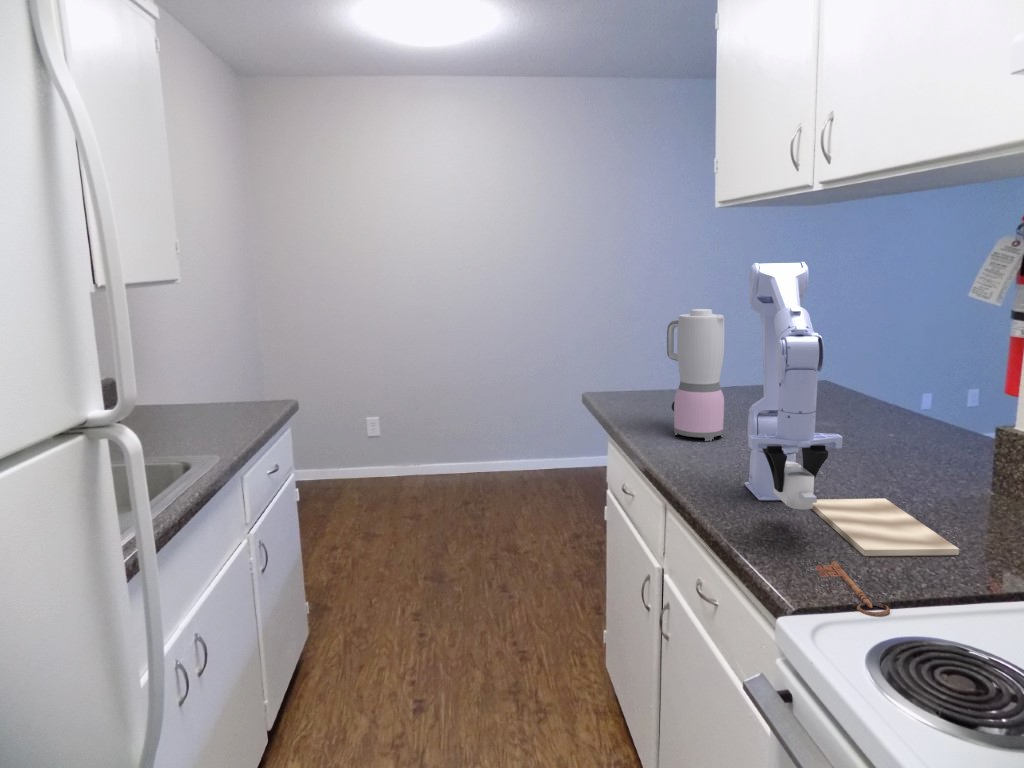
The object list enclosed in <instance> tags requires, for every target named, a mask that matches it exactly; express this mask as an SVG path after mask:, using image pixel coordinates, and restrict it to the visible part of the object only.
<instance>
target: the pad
mask: <svg viewBox="0 0 1024 768" xmlns="http://www.w3.org/2000/svg"><path fill="white" fill-rule="evenodd" d="M810 510H812V511H813V512H815V514H817V515H818V516H819V517H820V518H821V519H822V520H823V521H824V522H826V524H828V525H829V526H830V527H831V528H832V529H833V530H835V531H836V533H838V534H839V535H840V536H841V537H842V538H844V540H846V542H848V543H849V544H850V545H851V546H852V547H854V548H855V549H856V550H857V551H858V552H859V553H860V554H861V555H862V556H863V557H902V556H903V557H907V556H908V557H909V556H911V557H912V556H913V557H917V556H920V557H921V556H959V553H960V548H959V547H957V546H956V545H954V544H953V543H951V542H950V541H948V540H947V539H945V538H944V537H943V536H941V535H939V534H938V533H936V532H935V531H934V530H932V529H931V528H929V527H928V526H927V525H925V524H924V523H921V522H920V521H919V520H917V519H916V518H915V517H913V516H912V515H911V514H909V513H907V512H906V511H904V510H903V509H901V508H900V507H898V506H897V505H895V504H894V503H892V502H891V501H890V500H888V499H886V498H885V497H884V498H833V499H832V498H829V499H826V498H823V499H822V498H821V499H820V498H819V499H818V498H817V503H813V507H812V508H811V509H810Z"/></svg>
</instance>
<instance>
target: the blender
mask: <svg viewBox="0 0 1024 768" xmlns="http://www.w3.org/2000/svg"><path fill="white" fill-rule="evenodd" d="M676 328H677V334H676V338H677V339H676V353H675V346H674V345H675V341H674V340H675V338H674V337H675V335H674V334H675V329H676ZM725 332H726V331H725V316H724V315H723V314H720V313H719V314H717V313H713V309H709V308H696V309H695V308H694V309H690V312H689V313H685V314H684V313H683V314H680V315H679V316H678V320H672V321H671V322H670V323H669V324H668V325H667V330H666V353H667V354H666V355H667V357H668V358H669V359H670V360H672V361H675V362H677V365H678V373H679V379H680V380H679V384H678V388H677V390H676V392H675V394H674V401H673V402H671V403H672V404H671V410H672V411H673V419H674V421H673V434H674V433H677V435H680V436H685V437H690V438H691V437H692V438H703V439H713V440H714V438H716V437H718V436H719V437H720V435H723V436H724V432H725V428H724V420H725V419H724V418H725V397H724V393H723V391H722V389H721V385H720V379H721V373H722V367H723V363H724V356H725V341H726V340H725V338H726V336H725V334H726V333H725Z"/></svg>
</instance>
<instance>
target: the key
mask: <svg viewBox="0 0 1024 768" xmlns="http://www.w3.org/2000/svg"><path fill="white" fill-rule="evenodd" d="M814 568H816V571H817V572H818V574H819V575H820V577H821V578H842V579H843V581H845V583H846V584H847V585H848V586H849V588H850V589H851V590H852V591H853V592H854V594H855V595H856V596H857V597H858V598H859V599H860V601H861V602H863V603H860V604H858V605H857V606H856V610H857V611H858V612H859V613H862V614H864V615H867V616H870V617H885V616H886V615H888V614H889V613H890V612H891V609H890V607H889V606H887V605H886V604H883V603H880V602H874V601H870V599H869V597H867V596H866V594H865V593H864V591H863V590H861V589H860V588H859V586H857V584H856V583H855V582H854V580H852V579H851V577H850V576H849V574H847V573H846V571H844V569H842V567H841V566H840V565H839V564H838V563H837V561H832V562H831V563H830V564H826V565H814ZM864 606H866V607H868V608H870V609H873V608H874V607H878V608H882V609H884V610H882V611H868V610H865V609H863V608H861V607H864Z"/></svg>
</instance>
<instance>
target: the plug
mask: <svg viewBox="0 0 1024 768" xmlns="http://www.w3.org/2000/svg"><path fill="white" fill-rule="evenodd" d="M814 488H815V480H814V475H812V474H811V473H810V472H808V471H807V470H806V469H805V468H803V465H801V464H800V463H798V462H796V461H795V462H791V461H786V463H785V469H784V486H783V492H778V491H777V490H776V489H775V488H774V483H773V492H774V493H775V494H776V495H777V496H778V497H779V498H780V499H781V500H780V501H782V502H783V503H784V505H786V506H787V507H789V508H791V509H795V510H801V511H802V510H812V509H811V508H812V507H813V503H817V499H818V497H817V495H815V494H814V491H815V489H814Z"/></svg>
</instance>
